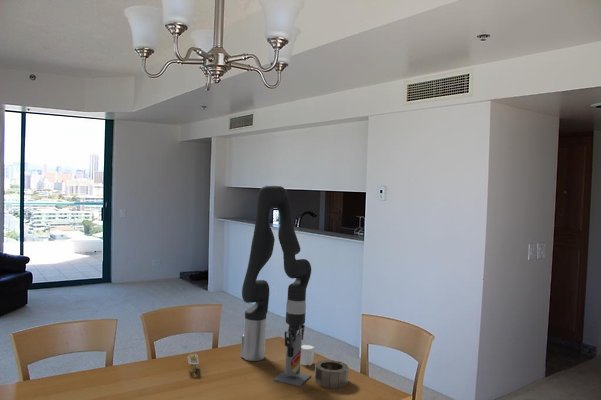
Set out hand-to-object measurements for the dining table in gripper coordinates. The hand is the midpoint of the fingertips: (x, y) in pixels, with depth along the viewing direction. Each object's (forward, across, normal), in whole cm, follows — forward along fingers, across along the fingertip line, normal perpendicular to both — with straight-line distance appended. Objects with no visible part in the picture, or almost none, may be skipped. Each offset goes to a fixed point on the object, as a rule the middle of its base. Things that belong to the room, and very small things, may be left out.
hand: (293, 354), depth 189 cm
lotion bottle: (+8, 0, 0) cm, 8 cm away
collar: (+9, +5, -14) cm, 18 cm away
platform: (+10, -13, +37) cm, 41 cm away
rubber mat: (+9, 0, 0) cm, 9 cm away
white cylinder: (+10, +18, +2) cm, 21 cm away
